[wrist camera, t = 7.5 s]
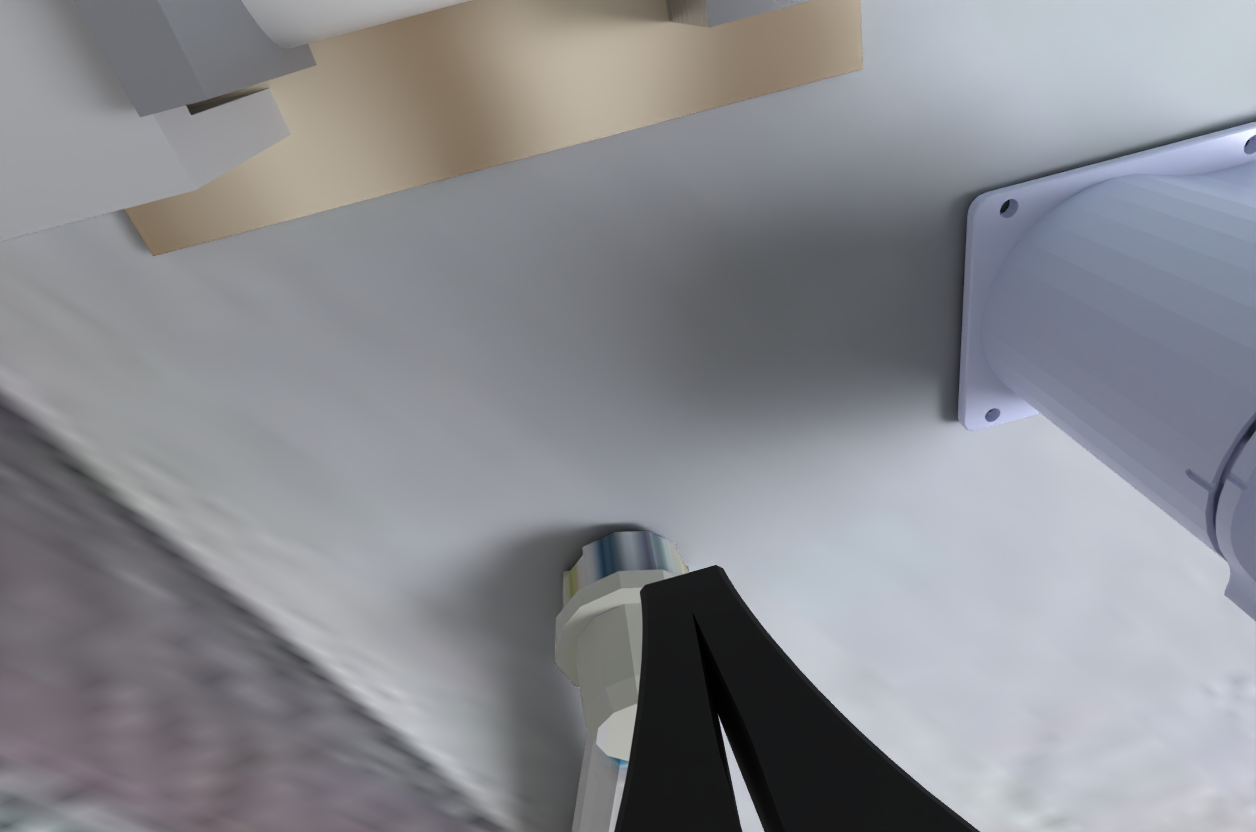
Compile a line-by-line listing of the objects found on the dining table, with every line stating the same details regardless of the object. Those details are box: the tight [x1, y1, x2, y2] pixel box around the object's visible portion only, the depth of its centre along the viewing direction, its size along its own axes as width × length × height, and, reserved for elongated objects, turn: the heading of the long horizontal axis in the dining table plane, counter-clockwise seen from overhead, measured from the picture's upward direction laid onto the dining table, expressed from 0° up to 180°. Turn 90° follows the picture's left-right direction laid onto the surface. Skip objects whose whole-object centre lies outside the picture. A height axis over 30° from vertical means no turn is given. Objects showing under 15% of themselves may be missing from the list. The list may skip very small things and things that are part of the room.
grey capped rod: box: [555, 531, 689, 832], centre depth 28 cm, size 5×7×25 cm
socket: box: [0, 0, 291, 242], centre depth 12 cm, size 4×6×6 cm
